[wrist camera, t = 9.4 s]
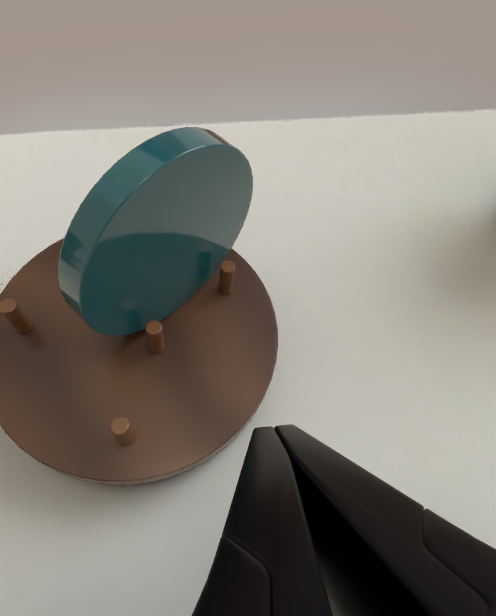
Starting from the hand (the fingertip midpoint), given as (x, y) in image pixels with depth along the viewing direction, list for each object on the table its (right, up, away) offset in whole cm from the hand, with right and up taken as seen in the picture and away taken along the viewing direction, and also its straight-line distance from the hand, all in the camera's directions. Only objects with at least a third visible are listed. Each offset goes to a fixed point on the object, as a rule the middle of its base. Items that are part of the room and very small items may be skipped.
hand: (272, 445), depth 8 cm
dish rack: (-6, +1, +12) cm, 13 cm away
